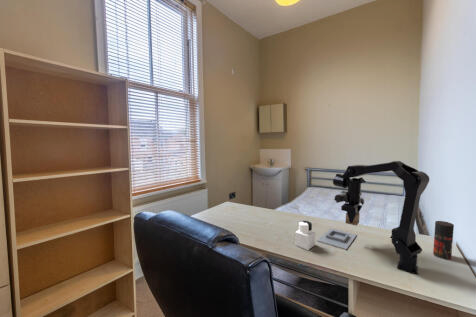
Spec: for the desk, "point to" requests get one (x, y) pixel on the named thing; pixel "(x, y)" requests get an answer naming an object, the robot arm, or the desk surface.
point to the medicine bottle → (305, 235)
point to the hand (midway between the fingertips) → (352, 220)
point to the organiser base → (337, 238)
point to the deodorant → (443, 240)
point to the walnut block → (355, 221)
